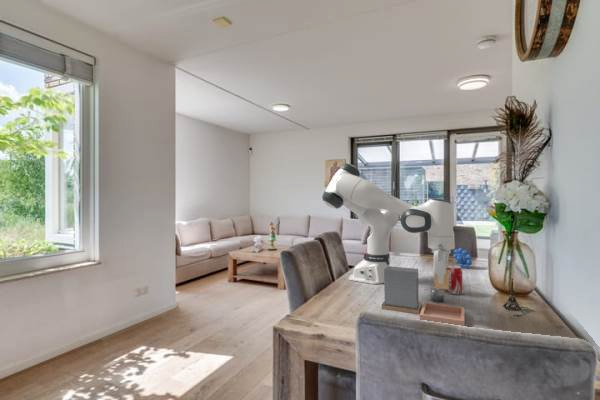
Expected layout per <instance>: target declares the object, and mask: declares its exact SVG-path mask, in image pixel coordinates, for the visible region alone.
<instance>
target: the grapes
mask: <svg viewBox="0 0 600 400" xmlns="http://www.w3.org/2000/svg"><path fill="white" fill-rule="evenodd" d="M453 250H454V251H453V252H454V253H453V255H452V256H453V259H455V264H456V265H458V266H460V267H461V269H464V268H465V269H469V268H470V266H471V265H472V264H473V262H472V256H471V255H470V254H469V252H468V250H467V249H463V248H462V247H458V248H454V249H453Z"/></svg>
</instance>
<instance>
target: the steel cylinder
mask: <svg viewBox="0 0 600 400" xmlns="http://www.w3.org/2000/svg"><path fill="white" fill-rule="evenodd" d="M444 291H445V289H440V288H435V286H432V287H430V301H432V303H436V304H440V303H441V304H443V303H444V301H445V292H444Z"/></svg>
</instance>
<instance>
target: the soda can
mask: <svg viewBox="0 0 600 400" xmlns="http://www.w3.org/2000/svg"><path fill="white" fill-rule="evenodd" d="M446 270H449V289H445V291H446V292H447V293H448V294H449V295H461V294H462V293H463V288H464V286H463V284H464V283H463V282H464V281H463V280H464V279H463V270H462V268H461V267H460V265H458V264H456V265H455V264H447V269H446Z"/></svg>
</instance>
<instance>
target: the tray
mask: <svg viewBox="0 0 600 400" xmlns="http://www.w3.org/2000/svg"><path fill="white" fill-rule="evenodd" d="M420 320H427V321H434V322H441V323H448V324H454V325H461V326H465V325H466V324H465V323H466V322H465V307H464V306H463V307H462V306H456V305H448V304H443V303H441V304H440V303H435V302H426V301H424V302H423V303H422V308H421V311H420V314H419V321H420Z"/></svg>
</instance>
